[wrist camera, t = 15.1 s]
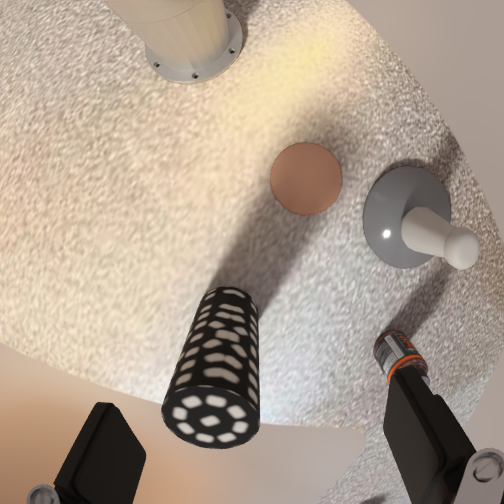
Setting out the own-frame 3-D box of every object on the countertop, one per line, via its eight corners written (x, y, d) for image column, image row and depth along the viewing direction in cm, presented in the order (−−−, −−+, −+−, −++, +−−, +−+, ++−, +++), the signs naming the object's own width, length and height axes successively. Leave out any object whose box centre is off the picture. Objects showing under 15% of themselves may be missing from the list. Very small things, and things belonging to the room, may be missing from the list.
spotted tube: (238, 275, 40) (225, 370, 21) (269, 324, 42) (277, 433, 23) (186, 303, 41) (141, 402, 22) (218, 347, 43) (199, 456, 24)
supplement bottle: (411, 338, 43) (444, 378, 32) (388, 365, 44) (414, 409, 33) (389, 322, 42) (421, 364, 31) (364, 351, 43) (389, 398, 32)
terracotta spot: (266, 145, 36) (266, 145, 35) (337, 141, 35) (338, 140, 35) (274, 217, 38) (274, 218, 38) (343, 211, 38) (344, 211, 37)
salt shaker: (392, 247, 38) (444, 281, 25) (394, 204, 36) (450, 223, 24) (428, 245, 38) (483, 276, 25) (430, 204, 36) (490, 223, 24)
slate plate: (359, 167, 36) (362, 167, 35) (446, 166, 35) (450, 166, 34) (363, 272, 40) (365, 274, 39) (445, 260, 39) (448, 262, 38)
